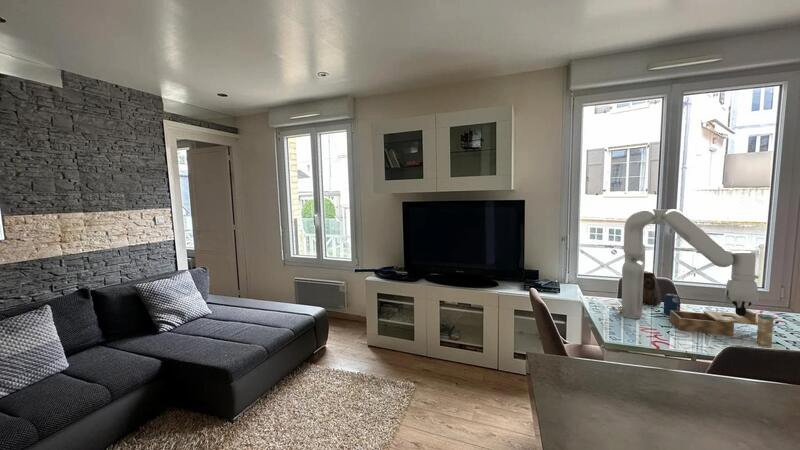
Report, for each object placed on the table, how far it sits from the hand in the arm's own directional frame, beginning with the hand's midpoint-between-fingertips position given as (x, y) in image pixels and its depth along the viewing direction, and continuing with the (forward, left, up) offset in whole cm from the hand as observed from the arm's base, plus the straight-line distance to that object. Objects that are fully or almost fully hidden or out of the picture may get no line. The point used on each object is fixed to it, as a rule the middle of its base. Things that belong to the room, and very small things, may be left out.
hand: (740, 315), depth 152 cm
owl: (-23, +41, -10) cm, 48 cm away
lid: (-1, 0, -2) cm, 2 cm away
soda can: (-20, +19, -10) cm, 29 cm away
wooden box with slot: (-15, 0, -9) cm, 18 cm away
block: (+2, -13, -10) cm, 16 cm away
